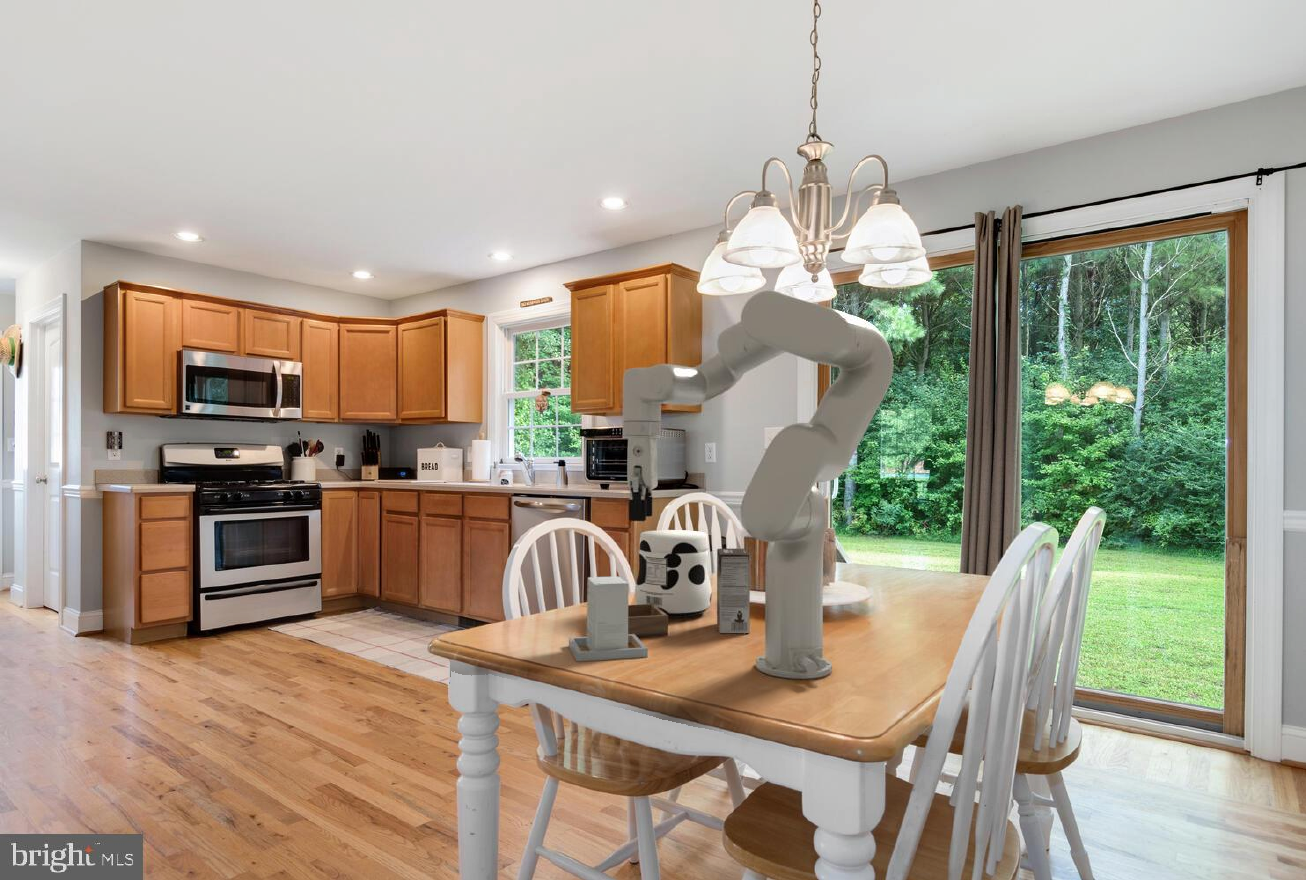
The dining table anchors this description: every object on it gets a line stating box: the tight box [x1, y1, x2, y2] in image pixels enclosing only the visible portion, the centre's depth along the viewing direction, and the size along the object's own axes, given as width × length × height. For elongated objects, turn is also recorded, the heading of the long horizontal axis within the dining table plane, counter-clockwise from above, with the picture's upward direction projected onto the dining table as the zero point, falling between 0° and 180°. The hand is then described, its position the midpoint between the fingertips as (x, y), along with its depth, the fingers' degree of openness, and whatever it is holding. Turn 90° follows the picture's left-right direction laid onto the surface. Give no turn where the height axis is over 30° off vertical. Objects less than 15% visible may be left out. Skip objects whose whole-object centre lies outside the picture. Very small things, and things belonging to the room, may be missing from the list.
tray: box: [568, 634, 649, 662], centre depth 135 cm, size 11×13×2 cm
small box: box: [586, 576, 630, 651], centre depth 136 cm, size 8×6×13 cm
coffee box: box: [716, 548, 751, 635], centre depth 153 cm, size 9×6×16 cm
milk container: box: [634, 529, 713, 618], centre depth 168 cm, size 17×17×18 cm
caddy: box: [628, 604, 669, 639], centre depth 151 cm, size 12×13×4 cm
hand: (641, 518), depth 146 cm, fingers open, 9 cm apart
